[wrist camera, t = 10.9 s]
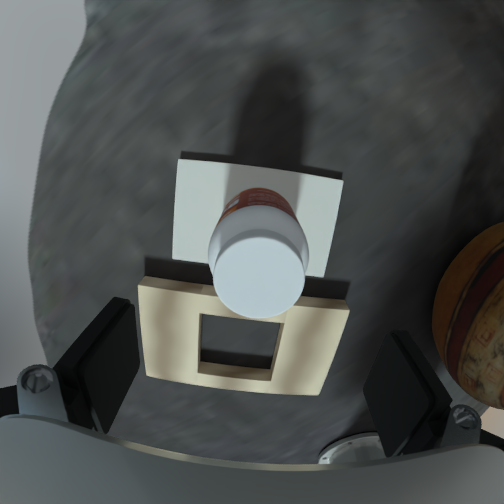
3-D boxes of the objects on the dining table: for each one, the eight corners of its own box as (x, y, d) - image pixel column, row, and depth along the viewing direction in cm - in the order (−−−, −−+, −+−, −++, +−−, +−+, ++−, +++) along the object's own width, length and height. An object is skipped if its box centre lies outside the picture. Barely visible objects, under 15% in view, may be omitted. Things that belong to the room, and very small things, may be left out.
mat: (341, 180, 24) (343, 180, 24) (322, 274, 27) (323, 277, 27) (180, 158, 24) (178, 159, 23) (174, 256, 27) (172, 258, 26)
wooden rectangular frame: (344, 299, 28) (349, 310, 26) (316, 383, 32) (318, 395, 31) (144, 275, 28) (137, 284, 26) (151, 364, 32) (146, 375, 30)
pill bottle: (229, 179, 24) (208, 206, 13) (302, 195, 24) (336, 235, 14) (215, 248, 26) (190, 318, 15) (283, 262, 26) (299, 338, 16)
